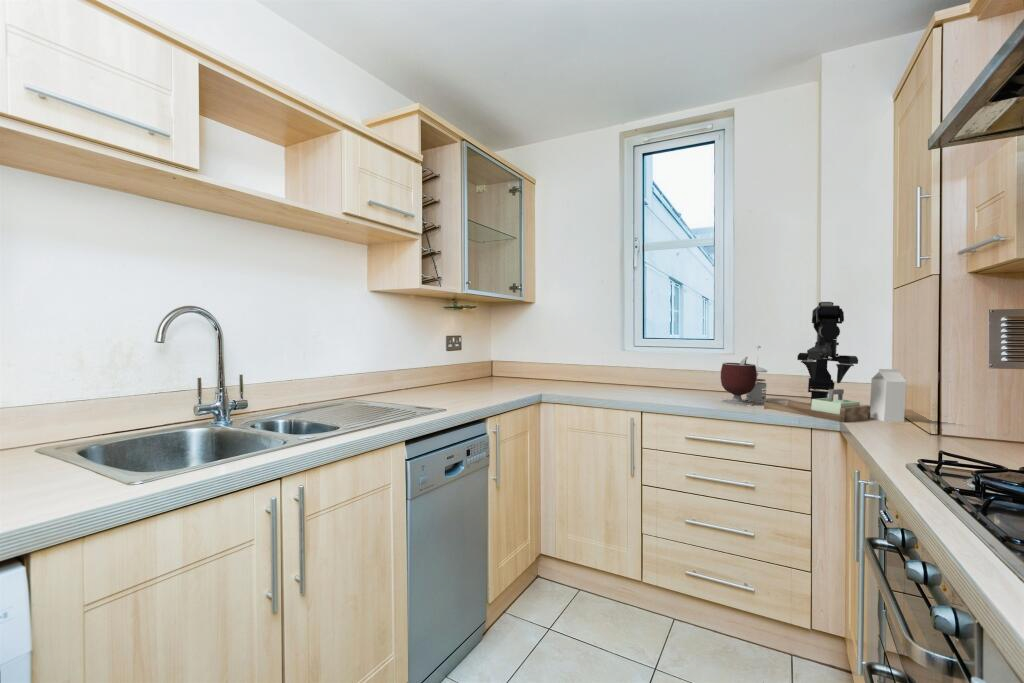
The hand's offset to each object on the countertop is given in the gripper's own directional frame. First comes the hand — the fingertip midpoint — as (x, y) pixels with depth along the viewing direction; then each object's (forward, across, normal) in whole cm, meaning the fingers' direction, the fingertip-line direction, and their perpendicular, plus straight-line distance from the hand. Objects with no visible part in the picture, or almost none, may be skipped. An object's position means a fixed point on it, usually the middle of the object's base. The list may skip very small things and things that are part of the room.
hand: (825, 381), depth 175 cm
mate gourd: (+14, -34, -4) cm, 37 cm away
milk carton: (+14, +13, +16) cm, 24 cm away
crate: (+13, +3, +2) cm, 13 cm away
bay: (+13, -4, +1) cm, 14 cm away
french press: (+14, -37, +12) cm, 42 cm away
